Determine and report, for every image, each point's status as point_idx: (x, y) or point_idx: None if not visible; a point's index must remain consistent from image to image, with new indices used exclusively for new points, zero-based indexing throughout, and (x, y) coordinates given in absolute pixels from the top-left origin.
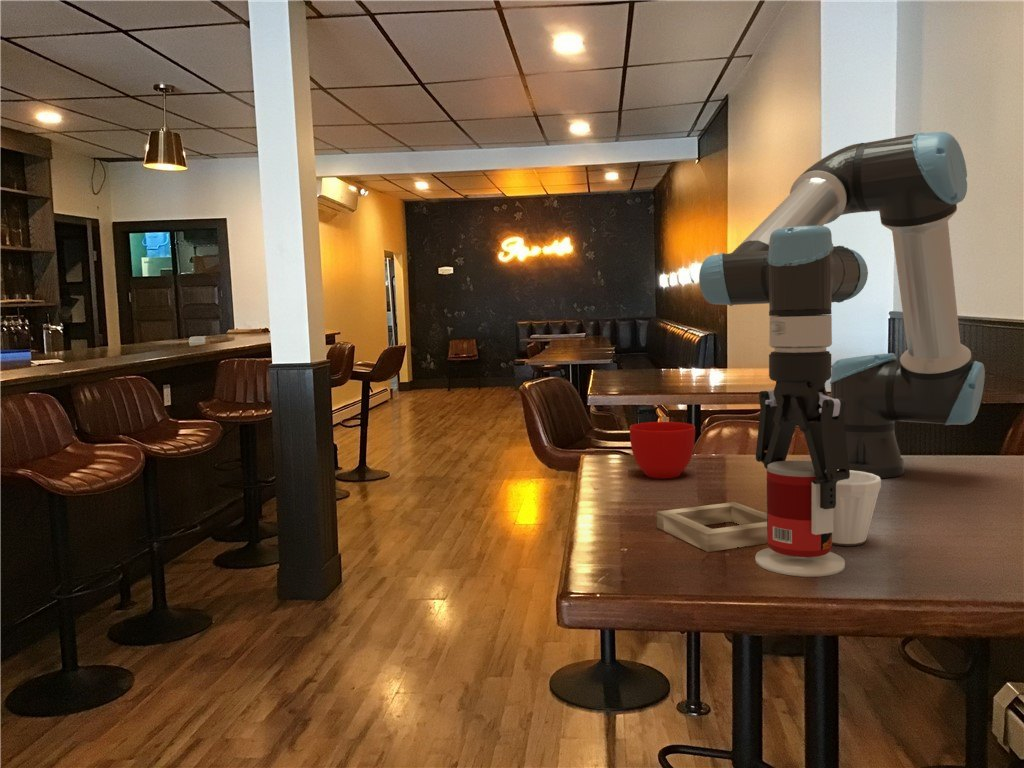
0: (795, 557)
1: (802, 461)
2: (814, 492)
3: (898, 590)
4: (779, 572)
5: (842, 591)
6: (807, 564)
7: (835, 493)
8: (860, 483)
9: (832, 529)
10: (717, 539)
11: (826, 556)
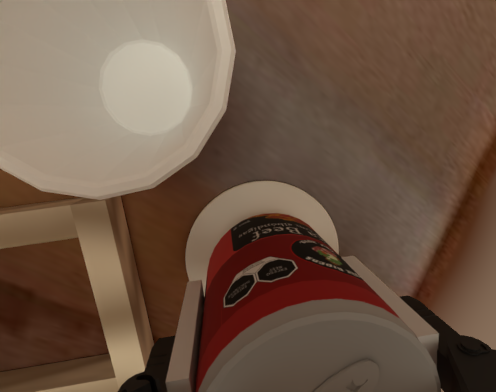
0: None
1: (231, 373)
2: None
3: (430, 181)
4: None
5: (400, 262)
6: None
7: (444, 323)
8: (228, 69)
9: (356, 259)
10: None
11: (268, 206)
